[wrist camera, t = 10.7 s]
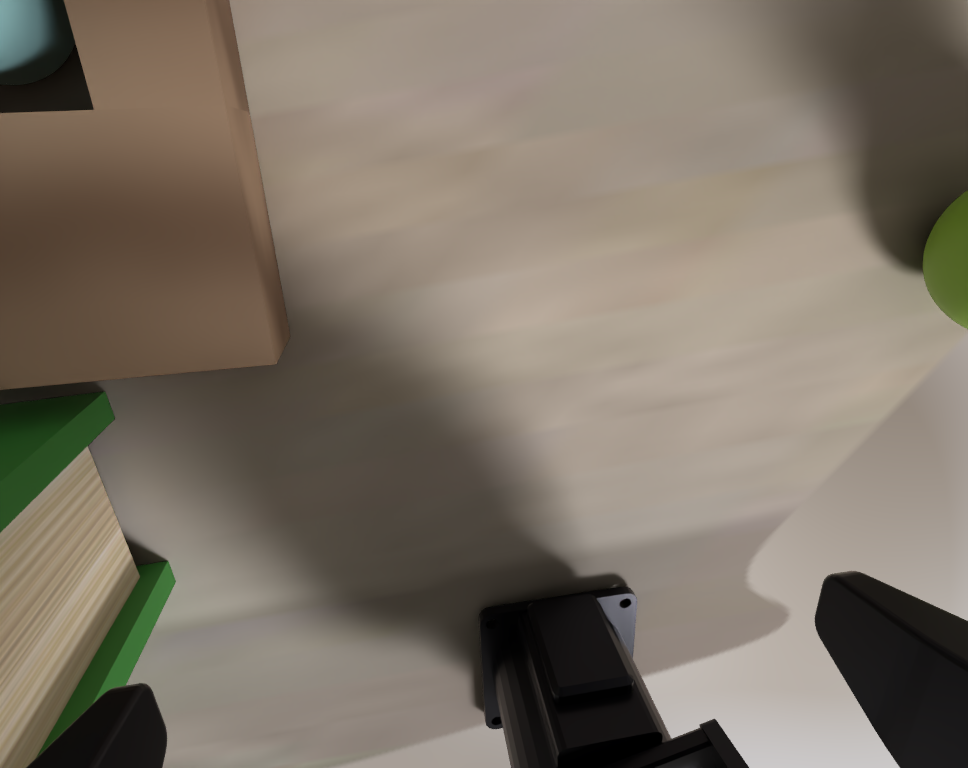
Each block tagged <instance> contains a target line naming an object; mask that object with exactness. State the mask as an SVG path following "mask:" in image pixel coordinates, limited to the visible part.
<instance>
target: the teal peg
mask: <svg viewBox="0 0 968 768" xmlns="http://www.w3.org/2000/svg"><path fill="white" fill-rule="evenodd" d="M74 44H75V39H74V35H73V32H72V28H71V25H70V21H69V17H68V14H67V10H66V7H65V3H64V0H0V84H1V85H22V84H28V83H32V82H36V81H38V80H41V79H43V78H46V77H47V76H49V75H50V74H52V73H54V72H55V71H56V70H57V69H58V68H59V67H60V66H62V64H63V63H64V62H65V61H66V59H67V58H68V57H69V55H70V53H71V51H72V49H73V47H74Z"/></svg>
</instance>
